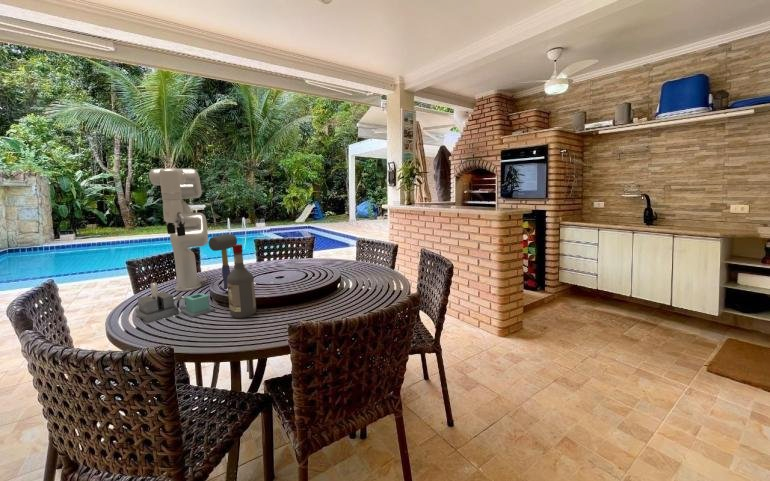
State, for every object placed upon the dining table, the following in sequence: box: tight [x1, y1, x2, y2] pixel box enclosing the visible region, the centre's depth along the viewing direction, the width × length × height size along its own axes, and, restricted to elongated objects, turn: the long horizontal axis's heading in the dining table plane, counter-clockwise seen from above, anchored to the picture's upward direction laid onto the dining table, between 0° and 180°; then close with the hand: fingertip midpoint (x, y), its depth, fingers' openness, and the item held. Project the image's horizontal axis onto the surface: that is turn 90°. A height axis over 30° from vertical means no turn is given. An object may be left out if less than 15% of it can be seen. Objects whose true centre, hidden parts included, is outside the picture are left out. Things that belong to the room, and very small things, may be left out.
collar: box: [184, 292, 211, 314], centre depth 154 cm, size 7×7×6 cm
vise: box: [135, 282, 186, 323], centre depth 153 cm, size 17×12×14 cm
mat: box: [180, 306, 216, 319], centre depth 155 cm, size 10×10×1 cm
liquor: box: [227, 244, 257, 319], centre depth 149 cm, size 9×9×30 cm
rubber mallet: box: [208, 233, 238, 290], centre depth 179 cm, size 12×8×30 cm, turn 156°
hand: (176, 234), depth 162 cm, fingers open, 9 cm apart
